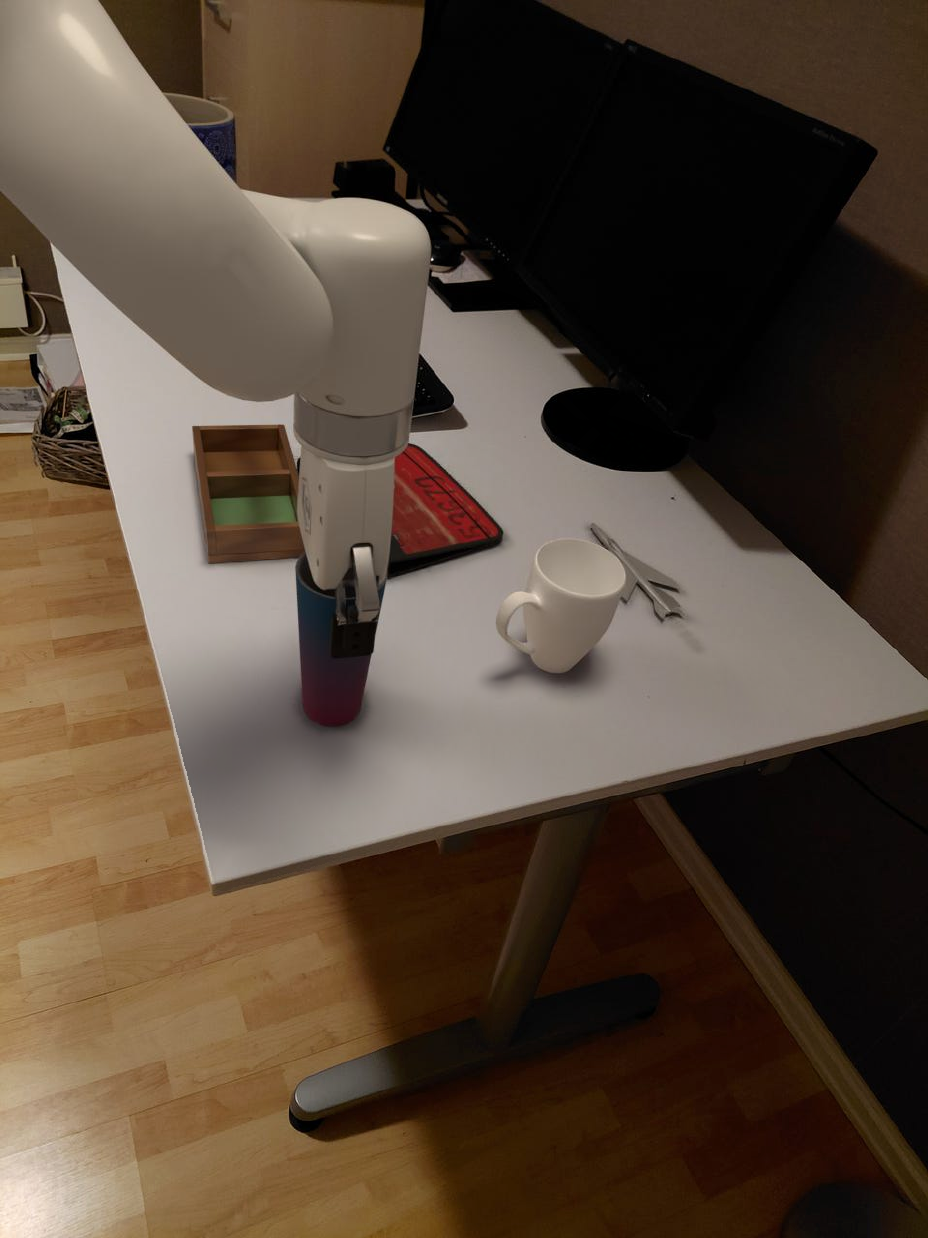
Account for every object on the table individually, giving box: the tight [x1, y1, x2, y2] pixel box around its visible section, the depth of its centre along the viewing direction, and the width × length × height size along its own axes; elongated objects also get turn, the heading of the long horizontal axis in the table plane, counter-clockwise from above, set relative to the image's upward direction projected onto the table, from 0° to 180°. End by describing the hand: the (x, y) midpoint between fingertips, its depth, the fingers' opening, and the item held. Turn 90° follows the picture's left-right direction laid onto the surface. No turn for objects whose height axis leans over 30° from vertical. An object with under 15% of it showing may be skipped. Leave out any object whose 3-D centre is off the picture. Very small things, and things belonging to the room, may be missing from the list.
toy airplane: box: [590, 522, 699, 646], centre depth 91 cm, size 8×21×2 cm, turn 25°
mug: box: [495, 537, 626, 674], centre depth 77 cm, size 12×8×11 cm
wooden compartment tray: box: [191, 424, 305, 564], centre depth 91 cm, size 10×20×4 cm, turn 17°
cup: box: [294, 551, 388, 727], centre depth 68 cm, size 7×7×15 cm
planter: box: [162, 92, 238, 186], centre depth 135 cm, size 18×18×21 cm
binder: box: [296, 442, 504, 579], centre depth 95 cm, size 16×2×21 cm
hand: (339, 612), depth 66 cm, fingers open, 8 cm apart
